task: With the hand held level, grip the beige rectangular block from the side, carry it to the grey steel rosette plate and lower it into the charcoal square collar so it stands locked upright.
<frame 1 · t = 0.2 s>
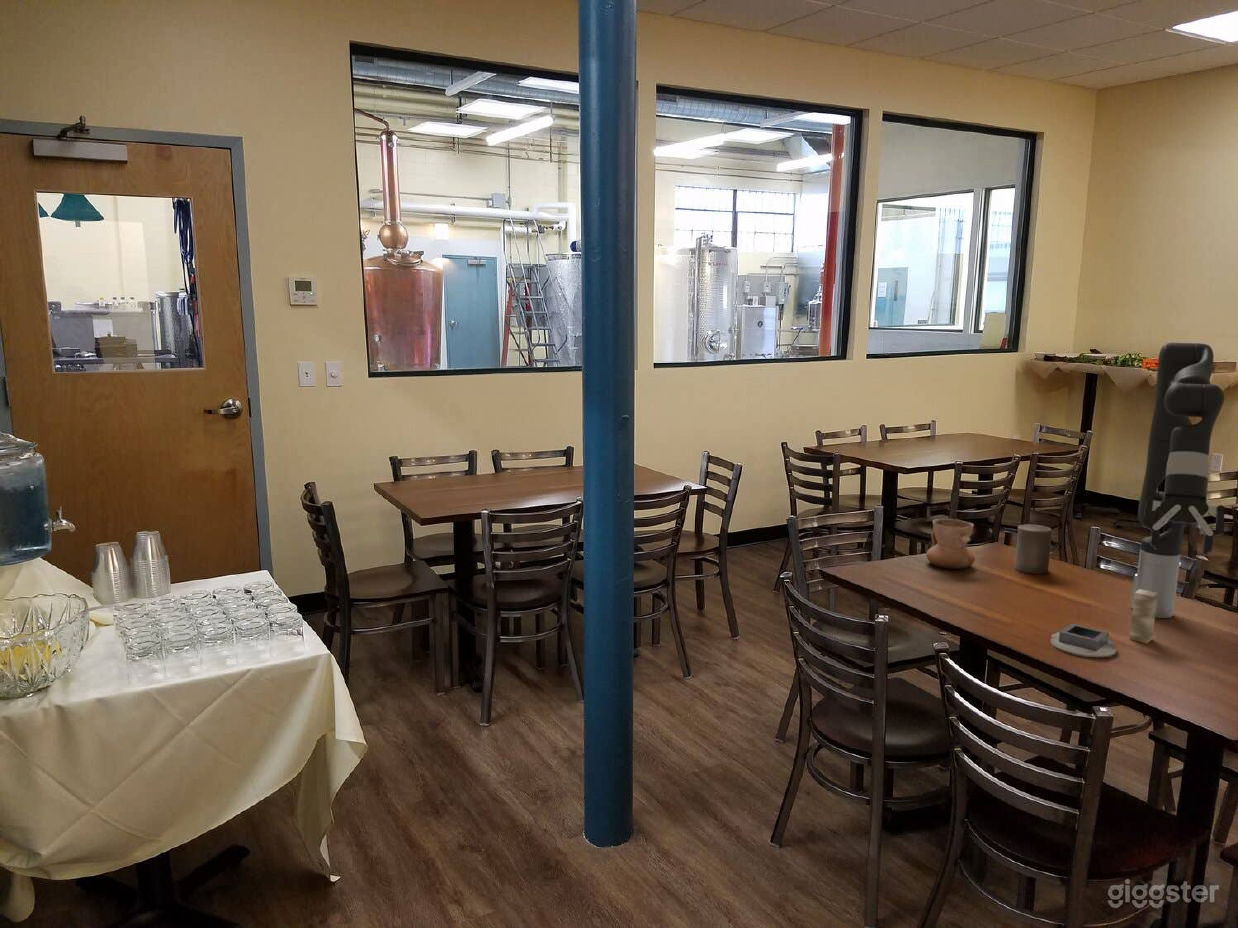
hand: (1180, 551, 180), 31 cm above the table, tool tilted 20°, fingers open, 8 cm apart
beige rectangular block: (1140, 638, 215), on the table
rosette plate: (1082, 646, 209), on the table
pillar candle: (1030, 570, 272), on the table
ceramic jug: (948, 565, 276), on the table
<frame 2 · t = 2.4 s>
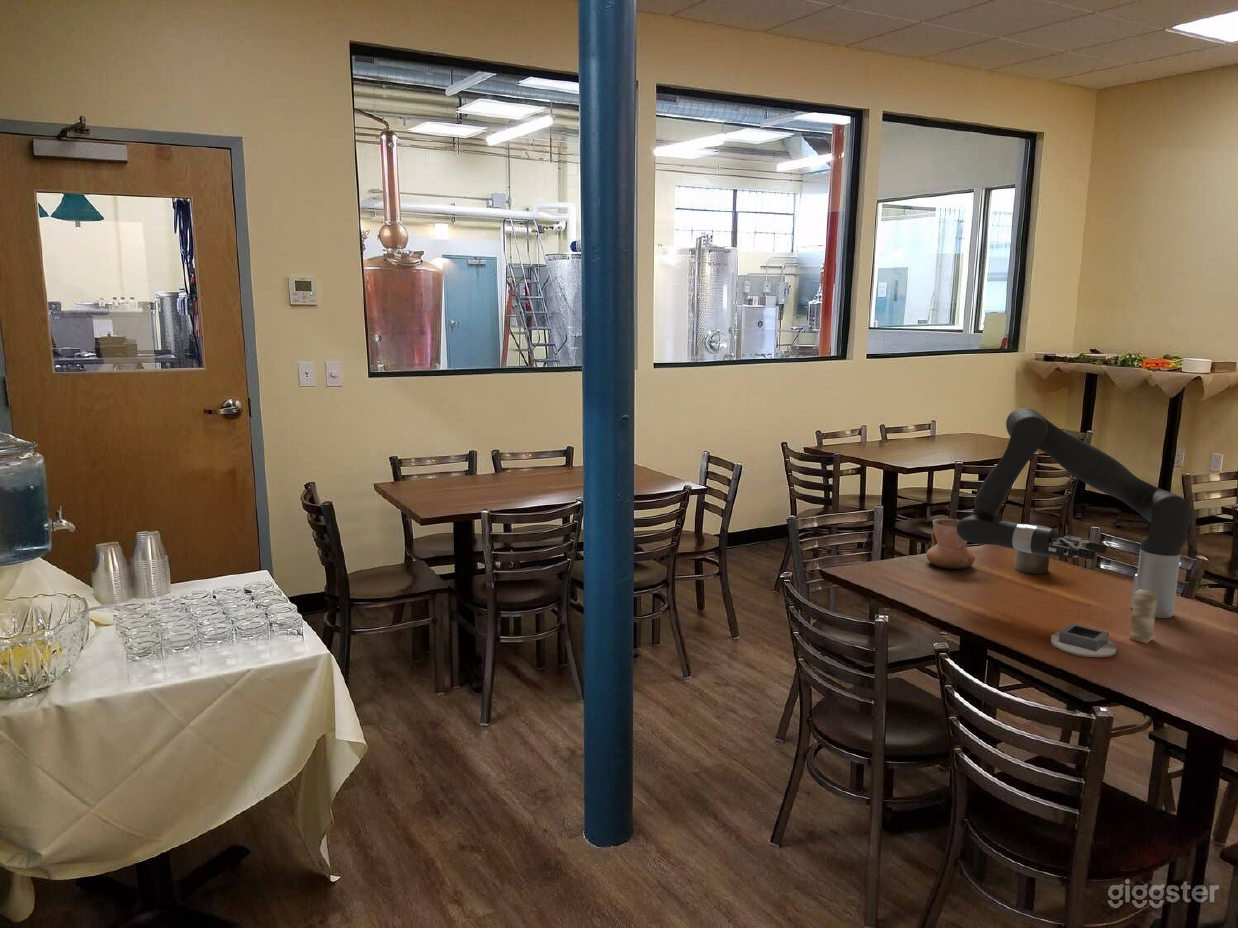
hand: (1101, 552, 219), 20 cm above the table, tool horizontal, fingers open, 8 cm apart
nothing on the table moved.
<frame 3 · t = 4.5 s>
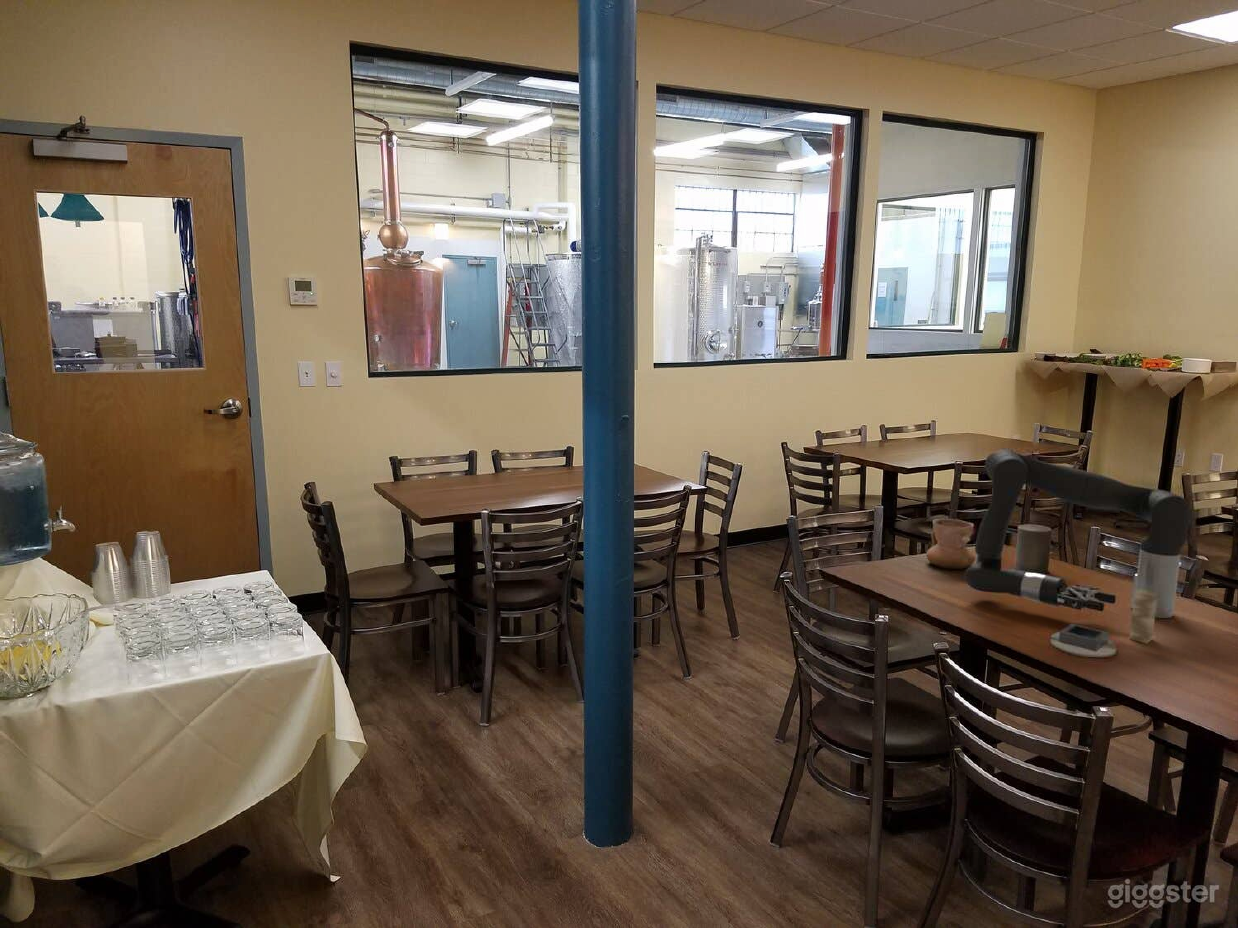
hand: (1109, 603, 219), 7 cm above the table, tool horizontal, fingers open, 8 cm apart
nothing on the table moved.
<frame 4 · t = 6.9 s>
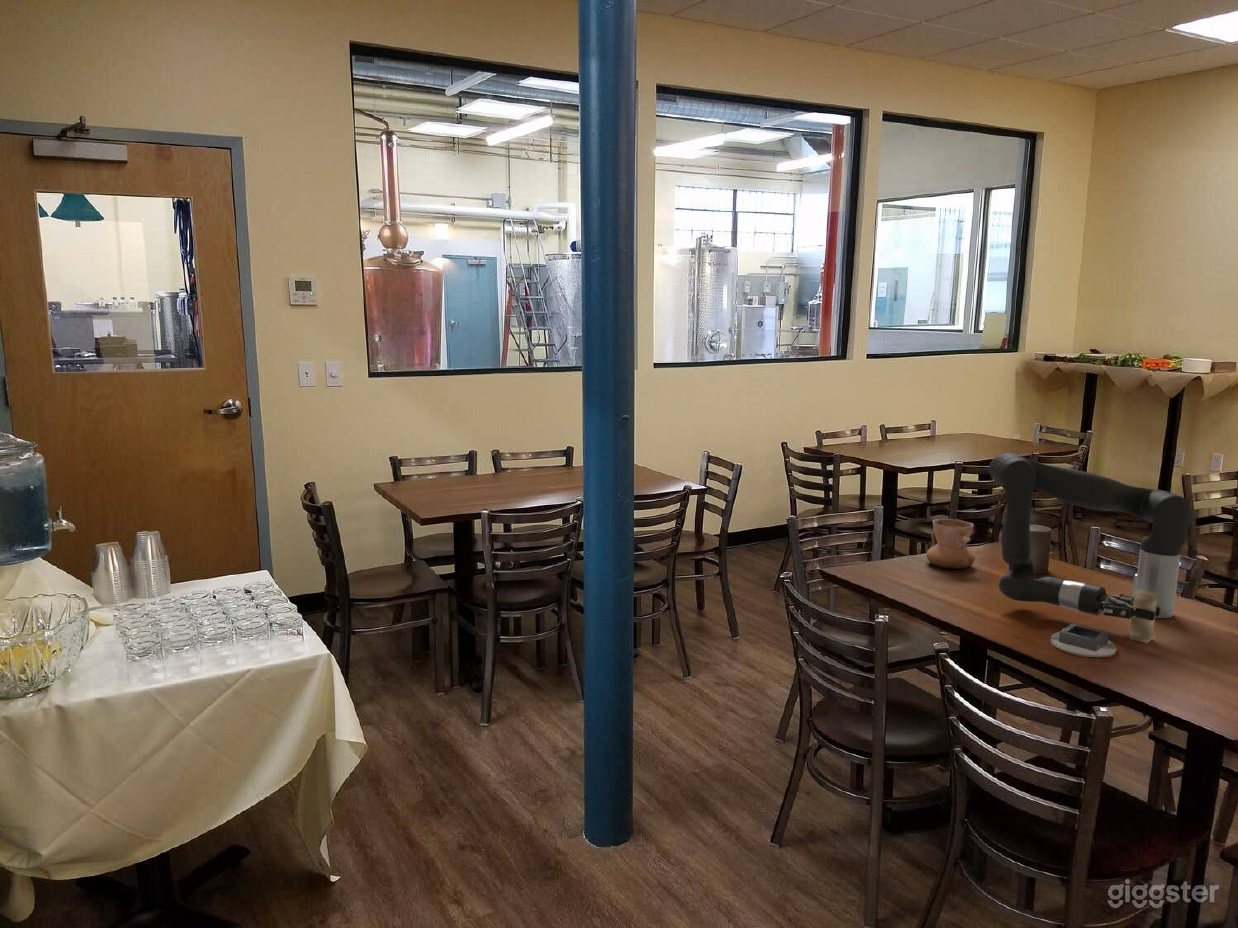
hand: (1156, 613, 212), 7 cm above the table, tool horizontal, fingers closed on beige rectangular block, 4 cm apart
beige rectangular block: (1140, 638, 215), on the table, touching gripper
everything else where it was.
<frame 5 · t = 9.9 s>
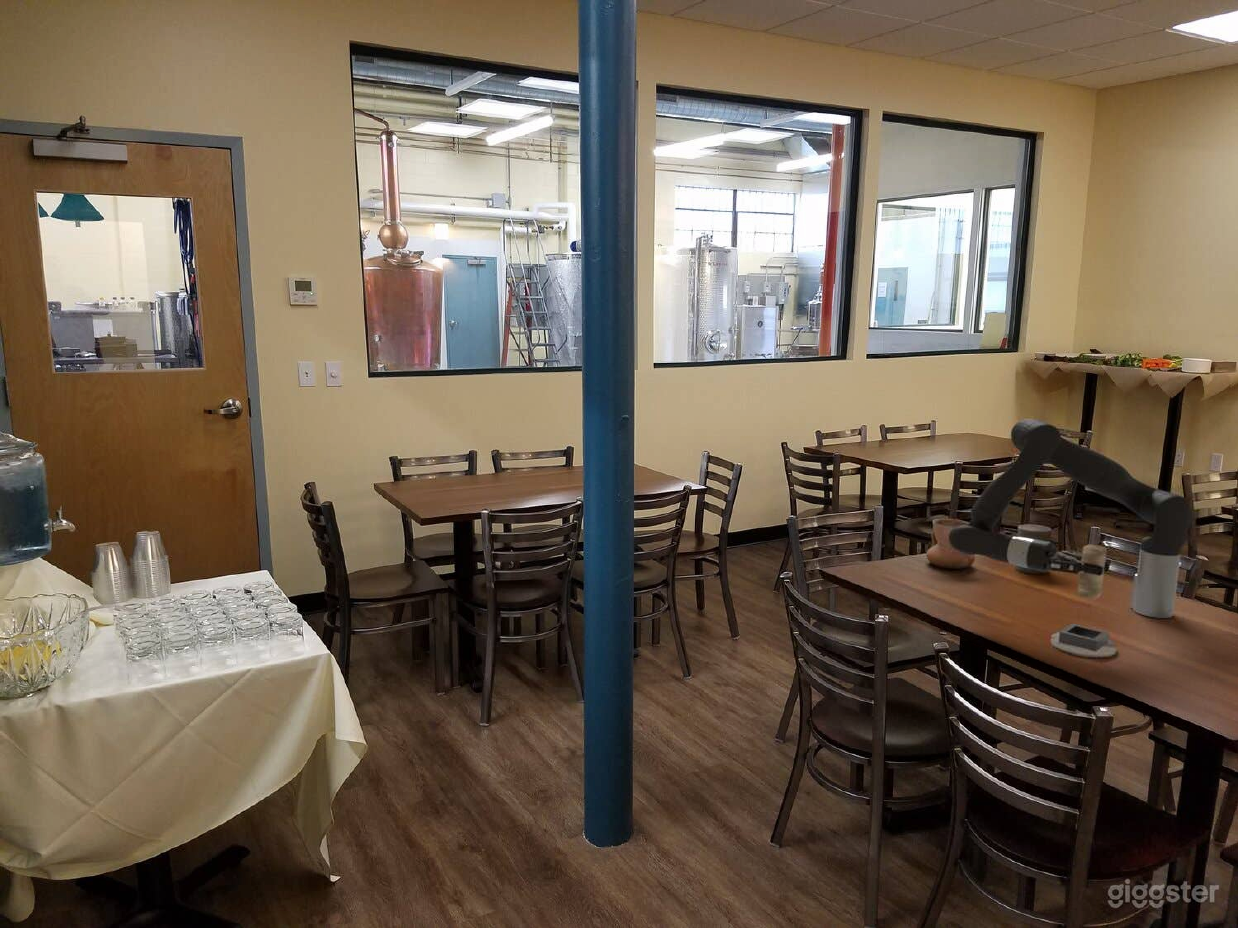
hand: (1105, 569, 204), 20 cm above the table, tool horizontal, fingers closed on beige rectangular block, 4 cm apart
beige rectangular block: (1089, 595, 207), point 13 cm above the table, touching gripper
everything else where it was.
when the fingers open (10 cm above the table, at t = 12.8 s): beige rectangular block drops 1 cm, resting on rosette plate.
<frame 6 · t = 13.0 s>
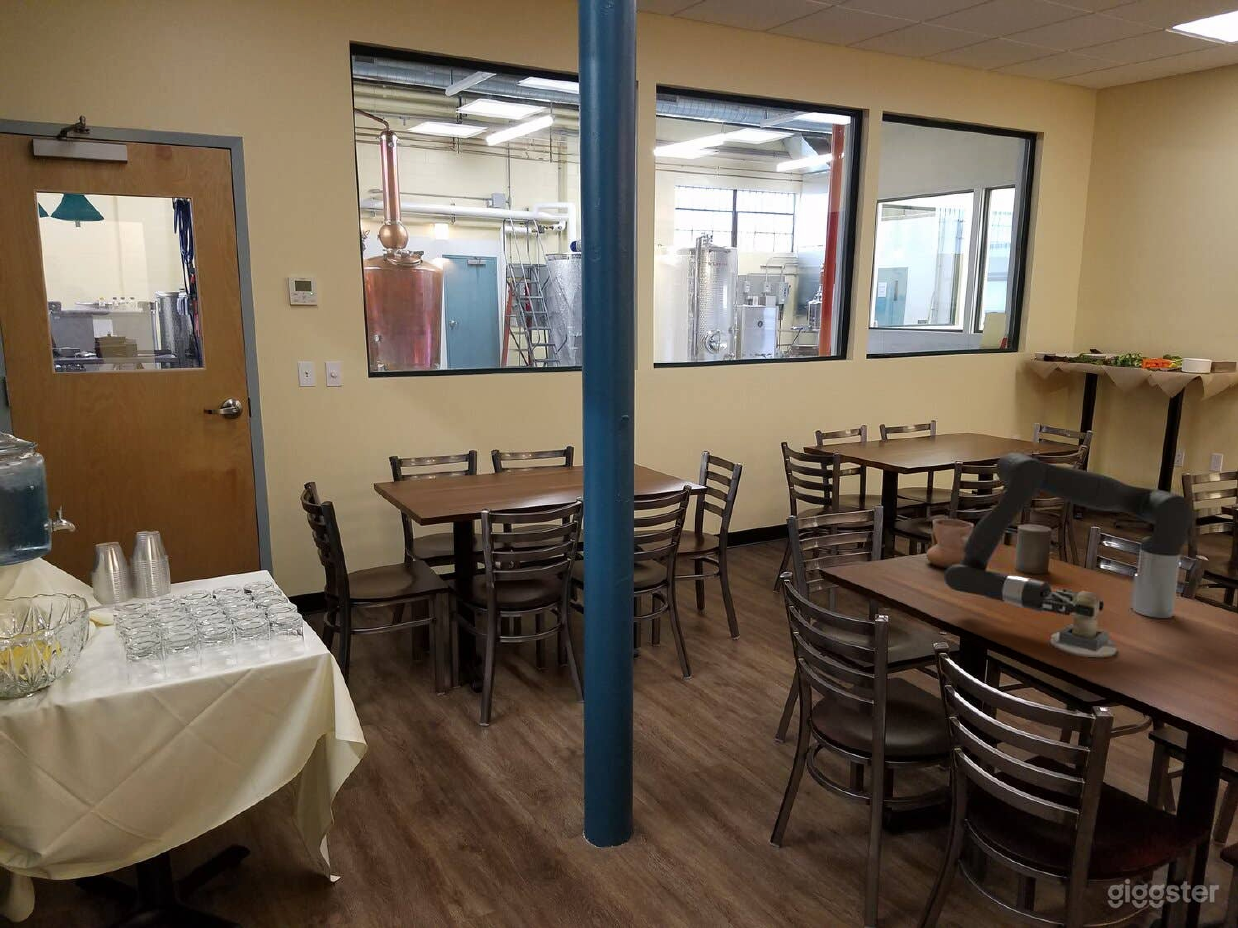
hand: (1098, 609, 206), 10 cm above the table, tool horizontal, fingers open, 6 cm apart
beige rectangular block: (1083, 641, 209), point 1 cm above the table, touching rosette plate
everything else where it was.
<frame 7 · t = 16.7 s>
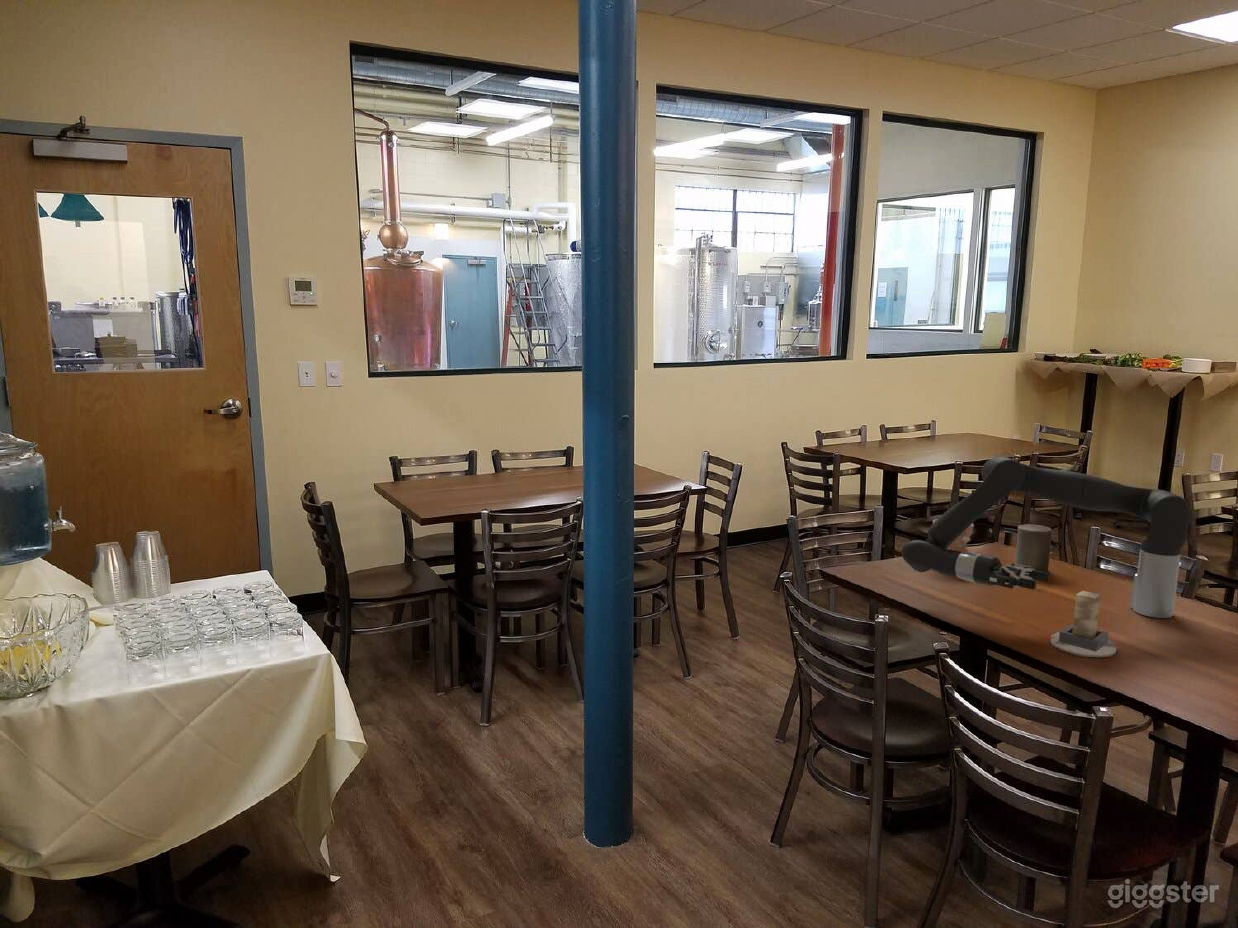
hand: (1042, 581, 215), 14 cm above the table, tool horizontal, fingers open, 8 cm apart
nothing on the table moved.
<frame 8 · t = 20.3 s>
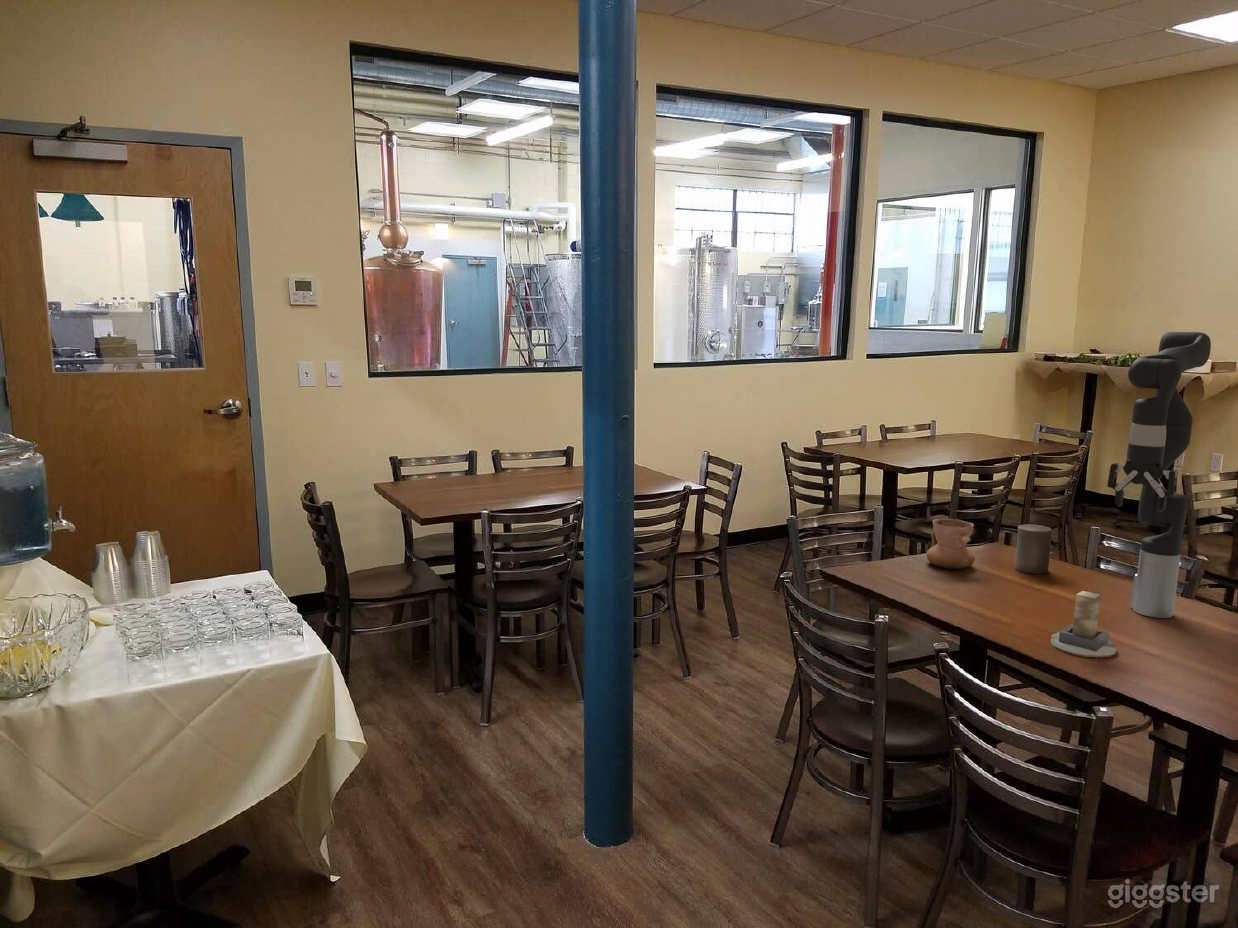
hand: (1138, 508, 209), 33 cm above the table, tool pointing down, fingers open, 8 cm apart
nothing on the table moved.
at the end: beige rectangular block 0.0 cm off-centre on the rosette plate, point 1.2 cm above the rosette plate's base; beige rectangular block tilted 0°; the gripper is holding nothing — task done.
